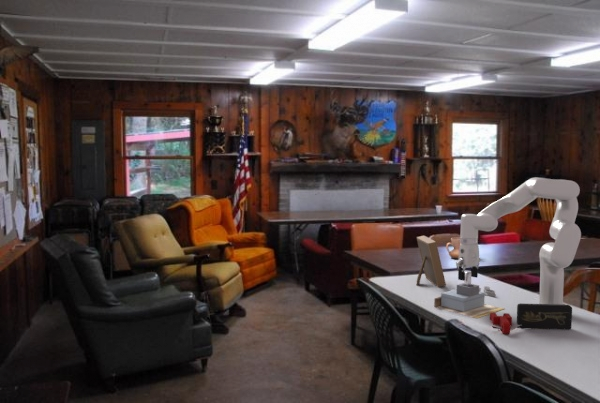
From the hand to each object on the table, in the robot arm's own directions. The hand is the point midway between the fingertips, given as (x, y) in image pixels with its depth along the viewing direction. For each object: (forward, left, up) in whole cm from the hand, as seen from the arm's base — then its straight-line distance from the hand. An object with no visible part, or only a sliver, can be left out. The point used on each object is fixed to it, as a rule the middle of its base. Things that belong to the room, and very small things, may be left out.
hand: (467, 278), depth 238 cm
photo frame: (+46, -29, -15) cm, 56 cm away
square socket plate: (+2, 0, -13) cm, 13 cm away
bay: (-1, 0, -15) cm, 15 cm away
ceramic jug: (+77, -104, -15) cm, 130 cm away
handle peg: (0, 0, -7) cm, 7 cm away
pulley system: (+10, -27, -16) cm, 33 cm away
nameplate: (-34, -3, -15) cm, 37 cm away
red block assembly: (-24, +11, -15) cm, 30 cm away
